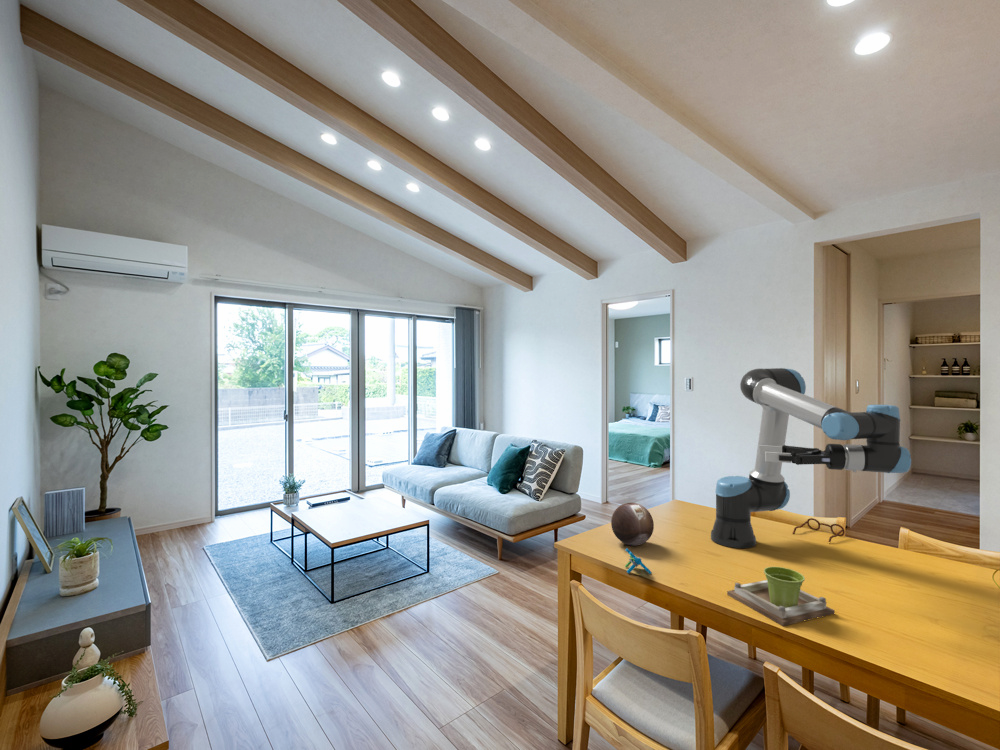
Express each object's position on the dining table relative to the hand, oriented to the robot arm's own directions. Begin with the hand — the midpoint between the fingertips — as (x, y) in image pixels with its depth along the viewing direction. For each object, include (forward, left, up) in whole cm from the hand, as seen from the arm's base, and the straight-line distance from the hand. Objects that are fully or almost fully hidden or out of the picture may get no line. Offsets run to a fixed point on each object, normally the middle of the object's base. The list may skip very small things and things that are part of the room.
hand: (762, 452), depth 152 cm
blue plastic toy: (+35, -14, -38) cm, 54 cm away
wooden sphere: (+22, -36, -38) cm, 57 cm away
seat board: (+11, +16, -38) cm, 43 cm away
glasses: (-50, -20, -39) cm, 66 cm away
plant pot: (+13, +19, -37) cm, 44 cm away
